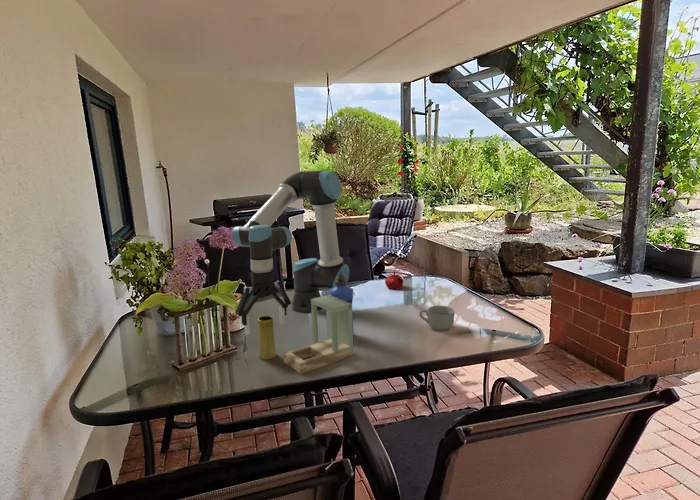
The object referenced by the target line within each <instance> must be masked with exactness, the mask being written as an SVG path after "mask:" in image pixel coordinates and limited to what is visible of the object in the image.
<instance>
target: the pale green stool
mask: <svg viewBox="0 0 700 500" xmlns="http://www.w3.org/2000/svg"><path fill="white" fill-rule="evenodd" d="M317 306H319V307H321V309H324V310H325V311H326V312H325V313H326V340H327V339H330V338H332V350H333V351H334V352H335V351H338V341H340V342H342V343H344V344H346V345H348V346H350V348H351V356H353V355H354V337H353V332H354V326H353V327H352V312H353V303H352V304H351V303H349V302H346V301H344V300H341V299H338V298H336V297H333V296H331V295H329V294H327V295H323V296H321V297H318V298H314V299H311V312H310V314H311V331H312V334H311V335H312V344H314V343H317V342H319V329H318V328H319V327H318V325H319V324H318V323H319V322H318V310H317Z"/></svg>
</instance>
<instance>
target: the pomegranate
mask: <svg viewBox="0 0 700 500" xmlns="http://www.w3.org/2000/svg"><path fill="white" fill-rule="evenodd" d="M387 275H388V276H387V277H386V278H385V279H384V280H385V281H384V283H385V286H386V287H387V288H388V289H389V290H400V289H402V288H403V286H404V279H403V278H402V276H401V274H400V273H398V274H396V271H395V270H393V274H391V273H388V274H387Z"/></svg>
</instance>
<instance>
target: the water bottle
mask: <svg viewBox="0 0 700 500" xmlns="http://www.w3.org/2000/svg"><path fill="white" fill-rule="evenodd" d="M336 279H337V280H335V285H336V286H335V287H333V288H331V289H329V290H328V295H331V296H333V297H336V298H338V299H341V300H344V301H346V302H349V303H351V304H352V305H353V299H354V289H353V288H351V287H350V286H348V285H347V284H346V280H344V279H345V277H344V276H343V275H338V276H337V277H336ZM352 327H353V328H354V314H353V311H352ZM354 333H355V332H354V331H353V338H354Z"/></svg>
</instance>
